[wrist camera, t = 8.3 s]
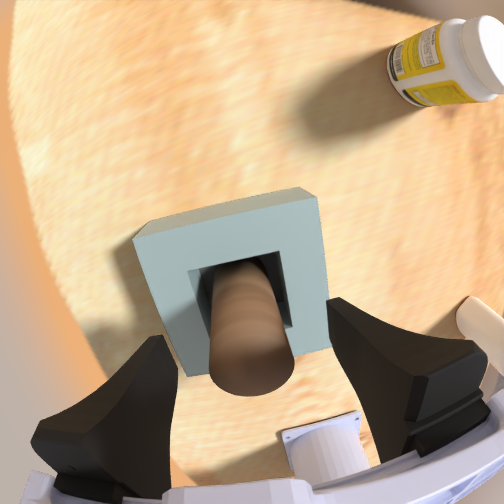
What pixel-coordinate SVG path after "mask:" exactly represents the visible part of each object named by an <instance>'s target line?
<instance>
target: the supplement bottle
mask: <svg viewBox="0 0 504 504" xmlns="http://www.w3.org/2000/svg"><path fill="white" fill-rule="evenodd" d="M387 70H388V74H389V77H390V80H391V82H392V84H393V85H394V87H395V88H396V90H397V91H398V92H399V94H400V95H401V96H402V97H403V98H404V99H405V100H407V101H408V102H410V103H411V104H413V105H416V106H420V107H431V106H440V105H451V104H464V103H481V102H488V101H491V100H493V99H495V98H496V97H497V96H498V94H504V25H503V24H502V23H501V22H499V21H498V20H497V19H495V18H493V17H491V16H480V17H476V18H472V19H469V20H467V21H466V20H462V19H450V20H447V21H445V22H442V23H440V24H438V25H435V26H433V27H431V28H429V29H426V30H424V31H422V32H420V33H418V34H416V35H414V36H412V37H410V38H408V39H406V40H404V41H402V42H400V43H398V44H396V45H395V46H394V47H393V48H392V49H391V50H390V52H389V54H388V58H387Z"/></svg>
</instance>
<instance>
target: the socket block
mask: <svg viewBox="0 0 504 504" xmlns="http://www.w3.org/2000/svg"><path fill="white" fill-rule="evenodd" d="M132 241H133V244H134V247H135V250H136V253H137V256H138V258H139V261H140V264H141V267H142V270H143V273H144V275H145V278H146V281H147V284H148V286H149V289H150V292H151V294H152V297H153V299H154V302H155V304H156V307H157V309H158V312H159V314H160V317H161V319H162V322H163V324H164V327H165V329H166V331H167V334H168V336H169V338H170V341H171V343H172V345H173V347H174V350H175V352H176V354H177V356H178V358H179V361H180V363H181V365H182V367H183V369H184V371H185V373H186V376H187V377H190V376H197V375H204V374H209V349H210V330H211V312H212V296H213V282H214V272H215V269H216V267H217V265H218V264H221V263H226V262H230V261H235V260H239V259H244V258H248V257H253V256H256V257H257V258H258V259H260V260H261V261H262V263H263V264H264V266H265V268H266V271H267V274H268V277H269V281H270V284H271V287H272V290H273V293H274V296H275V299H276V303H277V306H278V309H279V312H280V315H281V318H282V321H283V325H284V328H285V331H286V334H287V337H288V341H289V344H290V347H291V350H292V353H293V357H295V356H299V355H303V354H307V353H311V352H315V351H319V350H323V349H326V348H330V347H332V344H331V342H330V339H329V332H328V320H327V309H326V300H329V291H328V281H327V271H326V262H325V253H324V245H323V237H322V229H321V222H320V215H319V208H318V201H317V197H316V196H314V195H312V194H311V193H309V192H307V191H306V190H304V189H302V188H301V187H296V188H291V189H286V190H281V191H276V192H271V193H266V194H262V195H257V196H252V197H248V198H243V199H239V200H234V201H230V202H225V203H221V204H217V205H212V206H208V207H204V208H200V209H196V210H191V211H187V212H183V213H179V214H175V215H171V216H168V217H164V218H160V219H156V220H152V221H149V222H148V223H147V224H146V225H145V226H144V227H143V228H142V229H141V231H140V232H139V233H138V234H137V235H136V236H135V237H134V238H133V239H132Z"/></svg>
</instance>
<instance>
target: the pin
mask: <svg viewBox="0 0 504 504" xmlns="http://www.w3.org/2000/svg"><path fill="white" fill-rule="evenodd" d="M293 370H294V357H293V353H292V350H291V347H290V344H289V341H288V337H287V334H286V331H285V328H284V325H283V321H282V318H281V315H280V312H279V309H278V306H277V303H276V299H275V296H274V293H273V290H272V287H271V284H270V281H269V277H268V274H267V271H266V268H265V266H264V264H263V263H262V261H261V260H260V259H258V258H257V257H256V256H253V257H248V258H244V259H239V260H235V261H230V262H226V263H221V264H218V265H217V267H216V269H215V272H214V282H213V296H212V312H211V330H210V349H209V374H210V376H211V379H212V380H213V382H214V383H215V384H216V385H217V386H218V387H219V388H221V389H222V390H224V391H226V392H228V393H231V394H234V395H238V396H259V395H264V394H267V393H270V392H272V391H274V390H276V389H278V388H279V387H281V386H282V385H283V384H284V383H285V382H286V381H287V380H288V379H289V378H290V376H291V375H292V373H293Z"/></svg>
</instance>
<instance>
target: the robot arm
mask: <svg viewBox="0 0 504 504" xmlns="http://www.w3.org/2000/svg"><path fill="white" fill-rule="evenodd" d="M326 309H327V320H328V332H329V339H330V342H331V344H332V347H333V350H334V352H335V355H336V357H337V359H338V361H339V362H340V364H341V366H342V368H343V370H344V372H345V373H346V375H347V377H348V379H349V381H350V383H351V384H352V386H353V388H354V390H355V392H356V394H357V396H358V398H359V400H360V403H361V405H362V408H363V410H364V413H365V416H366V418H367V421H368V424H369V427H370V430H371V433H372V436H373V439H374V442H375V445H376V448H377V451H378V455H379V458H380V462H381V464H380V465H377V466H375V467H372V468H371V466H370V464H369V461H368V459H367V456H366V454H365V451H364V449H363V446H362V444H361V442H360V439H359V432H360V424H361V415H362V414H361V412H360V411H354V412H351V413H348V414H345V415H342V416H338V417H335V418H332V419H328V420H325V421H321V422H317V423H313V424H309V425H305V426H301V427H297V428H293V429H288V430H284V431H282V433H281V435H282V439H283V443H284V446H285V450H286V453H287V457H288V461H289V464H290V468H291V470H292V471H294V473H295V478H289V477H285V478H274V479H265V480H258V481H251V482H243V483H234V484H223V485H209V486H185V487H177V488H171V475H170V431H171V423H172V417H173V411H174V405H175V400H176V394H177V387H178V367H177V365H176V363H175V361H174V359H173V357H172V355H171V352H170V350H169V348H168V346H167V344H166V341H165V339H164V337H163V335H157V336H151V337H149V338H148V339H147V340H146V341H145V342H144V343H143V344H142V345H141V346H140V348H139V349H138V350H137V351H136V352H135V353H134V354H133V355H132V356H131V358H130V359H129V360H128V361H127V362H126V363H125V364H124V365H123V366H122V367H121V368H120V369H119V370H118V371H117V372H116V373H115V374H114V375H113V376H112V377H111V378H110V379H109V380H108V381H107V382H105V383H104V384H103V385H102V386H101V387H99V388H98V389H97V390H96V391H95V392H93V393H92V394H90V395H89V396H87V397H86V398H84V399H83V400H81V401H80V402H78V403H77V404H75V405H73V406H72V407H70V408H68V409H66V410H64V411H62V412H60V413H58V414H56V415H53V416H51V417H48V418H46V419H43V420H41V421H40V422H39V424H38V426H37V428H36V431H35V433H34V435H33V437H32V439H31V445H32V448H33V449H34V451H35V452H36V453H37V454H38V455H39V456H40V457H41V458H42V459H43V460H44V461H45V462H46V463H47V464H48V465H49V466H51V467H52V468H53V469H54V470H55V471H56V472H57V473H58V474H57V477H56V478H55V477H53V476H51V475H48V474H45V473H41V472H38V471H34V470H33V471H31V474H30V477H29V479H28V482H27V485H26V487H25V490H24V493H23V496H22V499H21V502H20V504H454V503H455V502H457V501H458V500H460V499H461V498H463V497H464V496H466V495H467V494H469V493H470V492H471V491H473V490H474V489H476V488H477V487H479V486H480V485H481V484H483V483H484V482H486V481H487V480H488V479H490V478H491V477H492V476H493V475H495V474H496V473H497V472H499V471H500V470H501V469H502V468H504V388H503V389H502V390H500V391H499V392H497V393H496V394H495V395H493V396H492V397H491V398H490V399H489V400H488V401H487V402H486V403H484V401H483V400H482V399H481V398H482V397H483V392H482V391H481V390H480V388H479V386H480V384H481V381H482V379H483V376H484V374H485V371H486V368H487V364H488V356H487V354H486V353H485V352H484V351H483V350H482V349H481V348H480V347H479V346H478V345H477V344H476V343H475V342H474V341H473V340H458V339H445V338H437V337H431V336H426V335H422V334H418V333H414V332H410V331H407V330H404V329H401V328H398V327H395V326H393V325H390V324H388V323H386V322H384V321H381V320H379V319H377V318H375V317H373V316H371V315H369V314H368V313H366V312H364V311H362V310H360V309H359V308H357V307H355V306H354V305H352V304H350V303H349V302H347V301H345V300H343V299H342V298H340V297H337V298H333V299H330V300H326Z"/></svg>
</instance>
